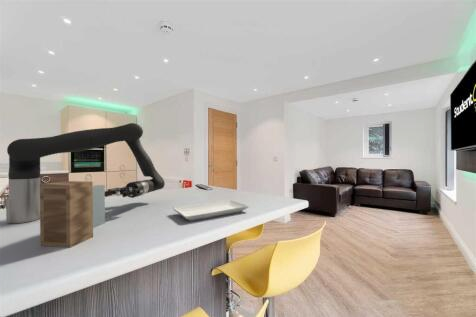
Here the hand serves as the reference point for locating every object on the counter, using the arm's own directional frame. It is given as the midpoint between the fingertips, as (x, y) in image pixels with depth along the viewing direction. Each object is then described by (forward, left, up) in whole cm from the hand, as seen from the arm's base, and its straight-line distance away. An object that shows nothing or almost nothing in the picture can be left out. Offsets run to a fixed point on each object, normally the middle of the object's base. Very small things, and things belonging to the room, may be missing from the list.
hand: (114, 194), depth 91 cm
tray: (+40, -12, -11) cm, 43 cm away
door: (-8, -11, -10) cm, 16 cm away
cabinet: (-11, -20, -10) cm, 24 cm away
